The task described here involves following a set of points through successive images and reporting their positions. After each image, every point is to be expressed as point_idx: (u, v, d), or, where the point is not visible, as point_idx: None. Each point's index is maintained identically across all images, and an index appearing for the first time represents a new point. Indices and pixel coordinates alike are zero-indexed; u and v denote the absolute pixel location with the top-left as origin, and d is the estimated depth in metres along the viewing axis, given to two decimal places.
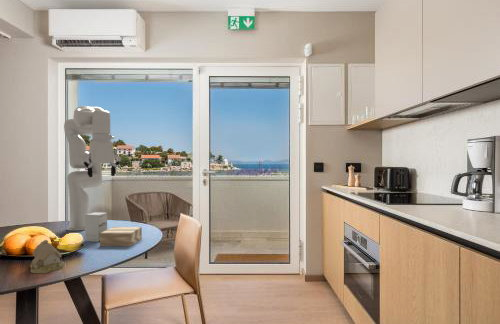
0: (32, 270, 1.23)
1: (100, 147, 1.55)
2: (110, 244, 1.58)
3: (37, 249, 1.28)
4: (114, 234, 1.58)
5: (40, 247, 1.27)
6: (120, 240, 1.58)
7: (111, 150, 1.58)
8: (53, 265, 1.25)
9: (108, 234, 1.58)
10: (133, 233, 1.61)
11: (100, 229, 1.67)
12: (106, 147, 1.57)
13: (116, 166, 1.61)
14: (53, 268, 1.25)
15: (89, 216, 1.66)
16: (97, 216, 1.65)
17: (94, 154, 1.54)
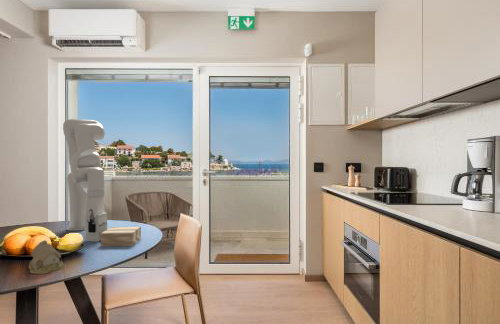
0: (31, 271, 1.22)
1: (99, 203, 1.68)
2: (111, 244, 1.58)
3: (36, 249, 1.27)
4: (115, 234, 1.58)
5: (39, 247, 1.27)
6: (121, 240, 1.58)
7: (103, 204, 1.72)
8: (53, 265, 1.25)
9: (109, 234, 1.58)
10: (134, 233, 1.61)
11: (100, 229, 1.67)
12: (102, 202, 1.70)
13: None
14: (53, 268, 1.24)
15: None
16: (97, 216, 1.65)
17: (96, 209, 1.65)
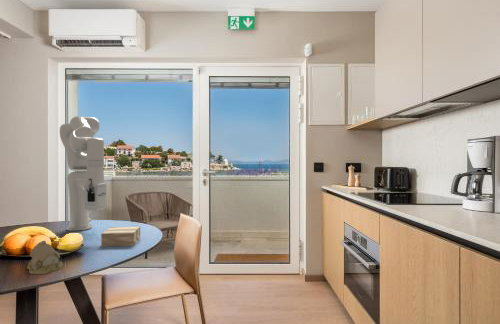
0: (31, 271, 1.21)
1: (99, 173, 1.67)
2: (112, 244, 1.58)
3: (35, 250, 1.26)
4: (116, 234, 1.58)
5: (38, 248, 1.26)
6: (122, 240, 1.58)
7: (103, 174, 1.72)
8: (52, 266, 1.25)
9: (110, 234, 1.57)
10: (135, 233, 1.62)
11: (99, 199, 1.67)
12: (101, 172, 1.70)
13: None
14: (52, 269, 1.24)
15: None
16: (96, 186, 1.65)
17: (96, 179, 1.65)
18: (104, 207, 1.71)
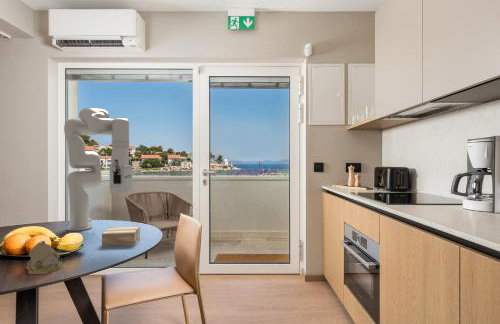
0: (30, 271, 1.21)
1: (124, 154, 1.62)
2: (112, 244, 1.58)
3: (34, 250, 1.26)
4: (117, 234, 1.58)
5: (38, 248, 1.26)
6: (123, 240, 1.58)
7: (128, 156, 1.67)
8: (52, 266, 1.25)
9: (110, 234, 1.57)
10: (135, 232, 1.62)
11: (125, 181, 1.62)
12: (127, 154, 1.65)
13: None
14: (52, 269, 1.24)
15: None
16: (122, 167, 1.60)
17: (122, 160, 1.60)
18: (130, 190, 1.66)
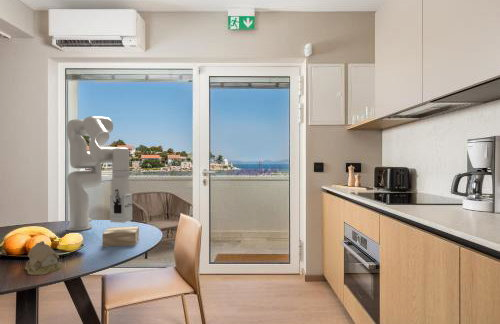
0: (30, 272, 1.21)
1: (125, 183, 1.63)
2: (113, 244, 1.58)
3: (33, 251, 1.25)
4: (118, 234, 1.58)
5: (37, 248, 1.25)
6: (124, 239, 1.58)
7: (128, 185, 1.68)
8: (51, 266, 1.24)
9: (111, 234, 1.57)
10: (136, 232, 1.62)
11: (126, 210, 1.62)
12: (127, 182, 1.65)
13: None
14: (52, 269, 1.24)
15: None
16: (123, 196, 1.60)
17: (122, 190, 1.60)
18: (130, 218, 1.66)
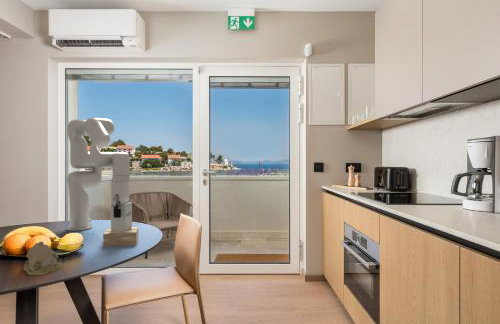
0: (29, 272, 1.20)
1: (125, 188, 1.63)
2: (114, 244, 1.58)
3: (32, 251, 1.25)
4: (118, 234, 1.58)
5: (36, 249, 1.25)
6: (125, 240, 1.59)
7: (128, 190, 1.68)
8: (51, 266, 1.24)
9: (112, 235, 1.57)
10: (136, 232, 1.63)
11: (127, 219, 1.63)
12: (127, 187, 1.66)
13: None
14: (51, 269, 1.23)
15: None
16: (124, 205, 1.62)
17: (122, 195, 1.61)
18: (130, 227, 1.67)
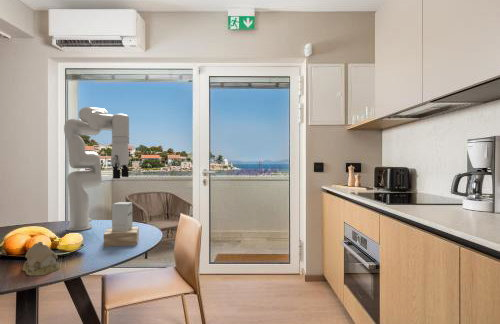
0: (29, 273, 1.20)
1: (124, 150, 1.62)
2: (115, 245, 1.57)
3: (31, 251, 1.25)
4: (119, 234, 1.58)
5: (35, 249, 1.24)
6: (125, 240, 1.58)
7: (128, 152, 1.67)
8: (50, 267, 1.24)
9: (112, 235, 1.57)
10: (137, 232, 1.63)
11: (128, 219, 1.64)
12: (127, 149, 1.65)
13: (128, 167, 1.70)
14: (51, 270, 1.23)
15: (117, 205, 1.62)
16: (126, 205, 1.62)
17: (122, 156, 1.60)
18: (131, 227, 1.68)
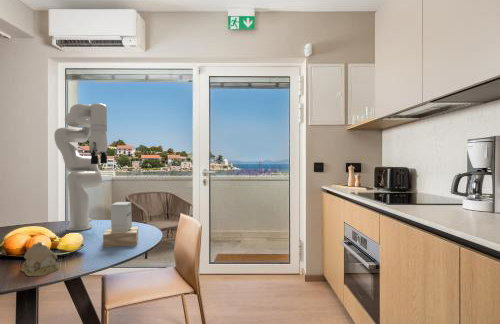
0: (28, 273, 1.19)
1: (102, 137, 1.73)
2: (114, 245, 1.57)
3: (30, 252, 1.24)
4: (118, 235, 1.57)
5: (34, 249, 1.24)
6: (125, 240, 1.58)
7: (106, 140, 1.78)
8: (50, 267, 1.23)
9: (112, 235, 1.56)
10: None
11: (127, 219, 1.62)
12: (105, 137, 1.75)
13: None
14: (50, 270, 1.23)
15: (116, 206, 1.60)
16: (125, 206, 1.60)
17: (99, 143, 1.70)
18: (130, 227, 1.66)
